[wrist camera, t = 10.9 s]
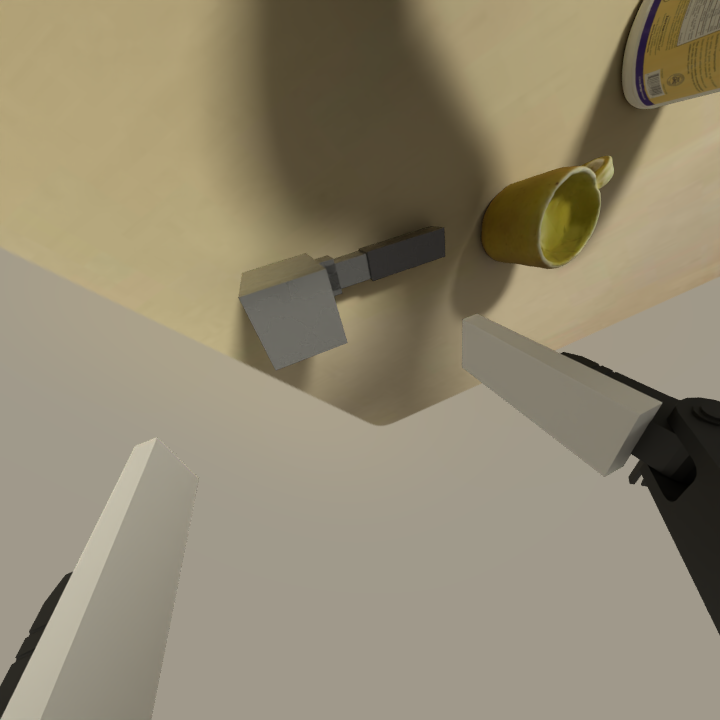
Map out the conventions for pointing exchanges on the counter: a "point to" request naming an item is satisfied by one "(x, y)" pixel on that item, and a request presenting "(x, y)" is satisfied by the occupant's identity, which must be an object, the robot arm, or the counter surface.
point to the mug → (546, 215)
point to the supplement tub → (672, 52)
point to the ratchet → (384, 258)
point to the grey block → (292, 309)
